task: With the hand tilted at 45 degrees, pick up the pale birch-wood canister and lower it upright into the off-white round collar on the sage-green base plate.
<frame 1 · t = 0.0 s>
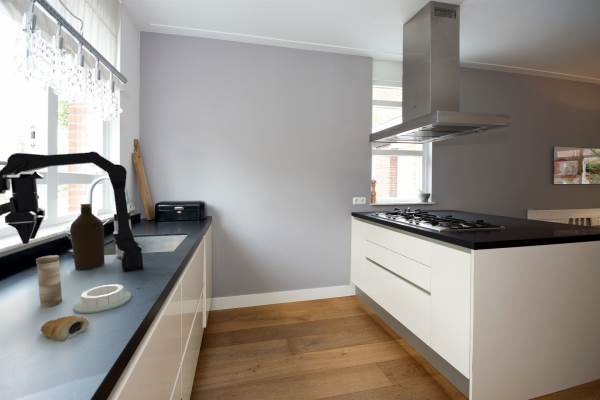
hand: (29, 241, 90), 15 cm above the countertop, tool pointing down, fingers open, 9 cm apart
canister: (51, 303, 77), on the countertop
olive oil: (90, 266, 111), on the countertop
pastry: (64, 334, 62), on the countertop
travel mug: (124, 257, 124), on the countertop
holder: (103, 302, 77), on the countertop
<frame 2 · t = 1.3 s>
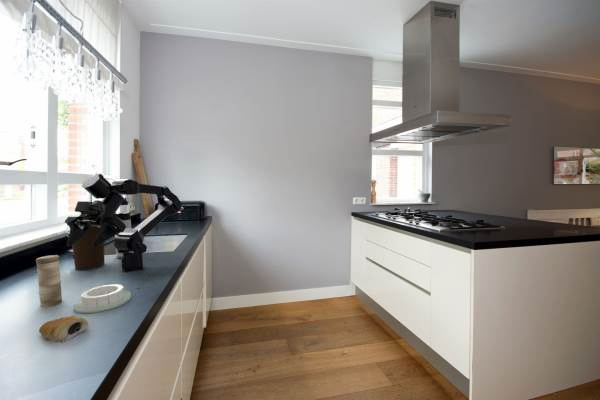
hand: (80, 246, 87), 14 cm above the countertop, tool tilted 45°, fingers open, 9 cm apart
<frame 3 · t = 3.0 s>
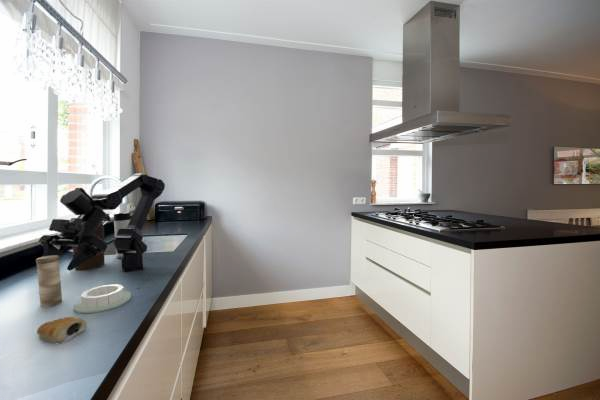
hand: (54, 269, 78), 9 cm above the countertop, tool tilted 45°, fingers open, 9 cm apart
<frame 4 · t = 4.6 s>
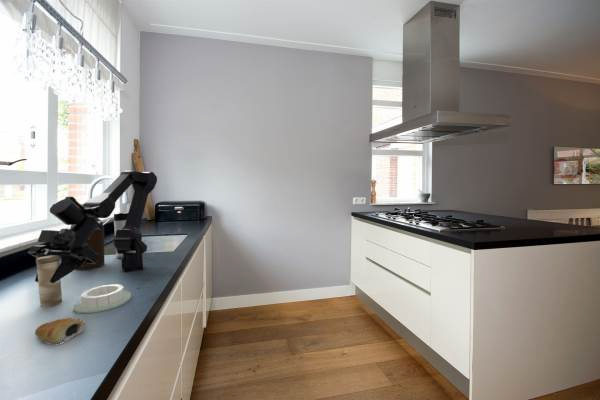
hand: (44, 282, 75), 7 cm above the countertop, tool tilted 45°, fingers closed on canister, 4 cm apart
canister: (51, 303, 77), on the countertop, touching gripper
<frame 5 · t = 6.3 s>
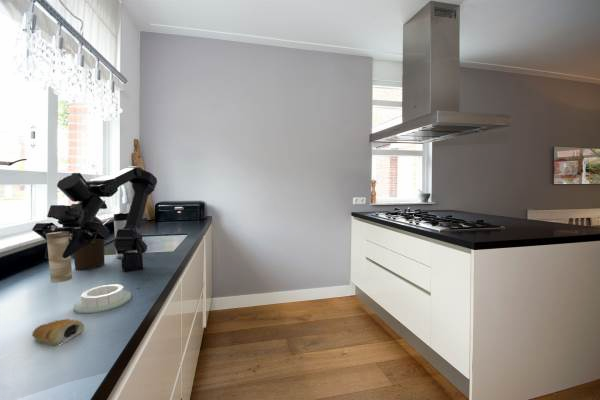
hand: (55, 257, 74), 13 cm above the countertop, tool tilted 45°, fingers closed on canister, 4 cm apart
canister: (61, 279, 76), point 7 cm above the countertop, touching gripper
when the fingers open (9 cm above the countertop, at t = 8.5 s): canister drops 1 cm, resting on holder.
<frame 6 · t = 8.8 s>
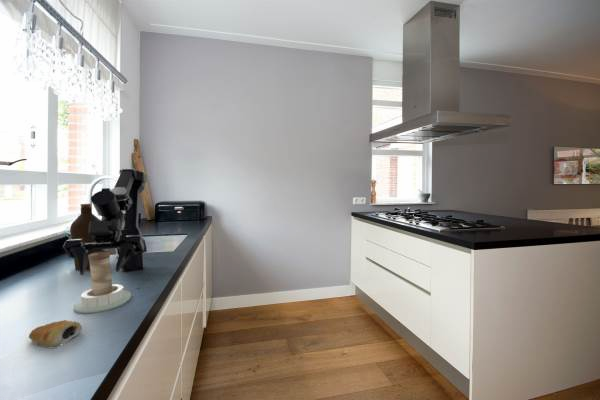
hand: (99, 272, 75), 9 cm above the countertop, tool tilted 45°, fingers open, 8 cm apart
canister: (103, 298, 77), point 1 cm above the countertop, touching holder
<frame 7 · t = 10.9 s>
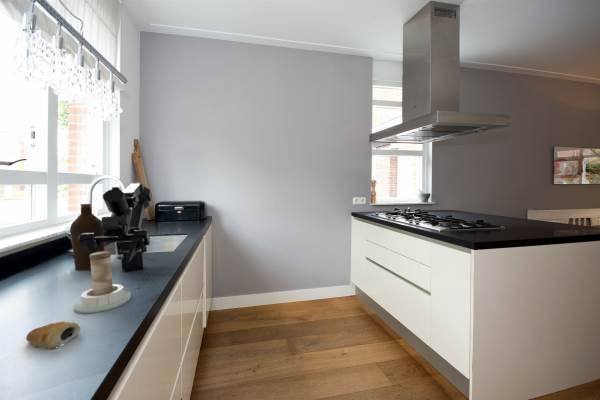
hand: (110, 263, 84), 9 cm above the countertop, tool tilted 45°, fingers open, 9 cm apart
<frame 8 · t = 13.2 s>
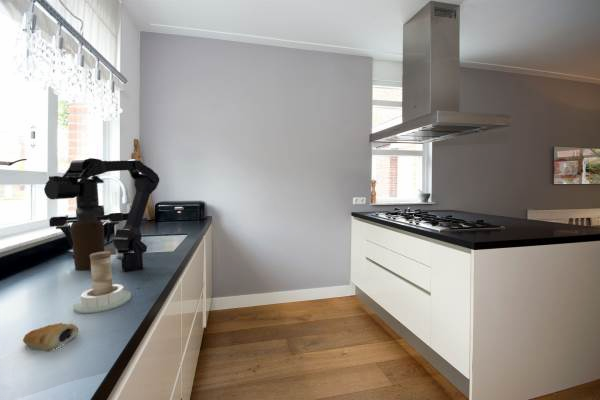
hand: (90, 244, 91), 13 cm above the countertop, tool pointing down, fingers open, 9 cm apart
at the end: canister 0.1 cm off-centre on the holder, point 0.8 cm above the holder's base; canister tilted 0°; the gripper is holding nothing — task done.
